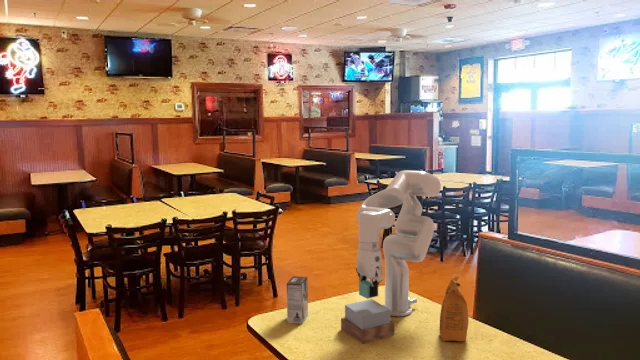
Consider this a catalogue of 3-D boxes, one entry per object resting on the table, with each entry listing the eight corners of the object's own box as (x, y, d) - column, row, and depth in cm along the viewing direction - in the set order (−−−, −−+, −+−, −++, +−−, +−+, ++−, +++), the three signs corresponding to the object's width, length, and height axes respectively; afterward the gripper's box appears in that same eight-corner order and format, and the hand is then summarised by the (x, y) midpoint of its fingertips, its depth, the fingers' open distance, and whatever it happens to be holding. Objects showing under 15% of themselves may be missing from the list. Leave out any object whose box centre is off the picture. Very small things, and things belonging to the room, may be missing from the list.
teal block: (369, 292, 182) (369, 279, 182) (378, 296, 178) (378, 282, 177) (359, 294, 180) (359, 281, 179) (367, 298, 175) (367, 285, 175)
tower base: (370, 322, 191) (370, 310, 190) (394, 335, 179) (394, 322, 178) (341, 330, 183) (341, 318, 183) (363, 345, 172) (363, 331, 171)
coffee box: (292, 313, 198) (292, 275, 197) (308, 315, 197) (307, 276, 195) (286, 323, 190) (286, 283, 188) (303, 324, 188) (302, 284, 186)
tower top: (372, 311, 189) (372, 299, 188) (390, 323, 178) (390, 309, 177) (345, 317, 183) (345, 304, 183) (362, 329, 173) (362, 316, 172)
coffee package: (467, 330, 182) (469, 273, 179) (468, 345, 170) (469, 284, 167) (439, 327, 184) (441, 271, 182) (438, 341, 173) (440, 281, 170)
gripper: (392, 249, 171) (391, 299, 173) (363, 239, 186) (362, 285, 188) (375, 252, 167) (375, 303, 170) (346, 241, 182) (346, 289, 184)
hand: (368, 293), depth 179 cm, fingers closed on teal block, 5 cm apart
